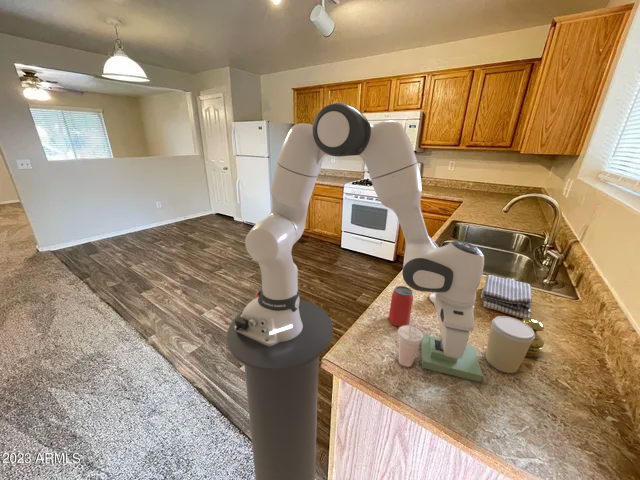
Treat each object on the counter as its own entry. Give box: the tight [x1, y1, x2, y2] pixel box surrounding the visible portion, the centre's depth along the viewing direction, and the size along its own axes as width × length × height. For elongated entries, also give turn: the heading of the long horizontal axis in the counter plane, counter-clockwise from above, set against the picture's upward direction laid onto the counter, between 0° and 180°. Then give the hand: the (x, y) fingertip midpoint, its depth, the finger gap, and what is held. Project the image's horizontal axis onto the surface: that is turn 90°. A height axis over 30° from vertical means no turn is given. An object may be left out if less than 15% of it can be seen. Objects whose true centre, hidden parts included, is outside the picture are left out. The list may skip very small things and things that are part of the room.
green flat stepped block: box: [420, 334, 484, 383], centre depth 73 cm, size 14×11×4 cm
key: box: [435, 341, 444, 352], centre depth 73 cm, size 4×4×2 cm
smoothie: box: [397, 316, 424, 368], centre depth 70 cm, size 6×6×14 cm
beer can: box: [388, 285, 414, 328], centre depth 86 cm, size 7×7×12 cm
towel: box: [480, 274, 533, 320], centre depth 99 cm, size 15×18×8 cm
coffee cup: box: [484, 315, 535, 374], centre depth 71 cm, size 9×9×12 cm
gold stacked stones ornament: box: [521, 318, 545, 358], centre depth 76 cm, size 7×7×10 cm
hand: (443, 346), depth 73 cm, fingers closed, pressing on key
